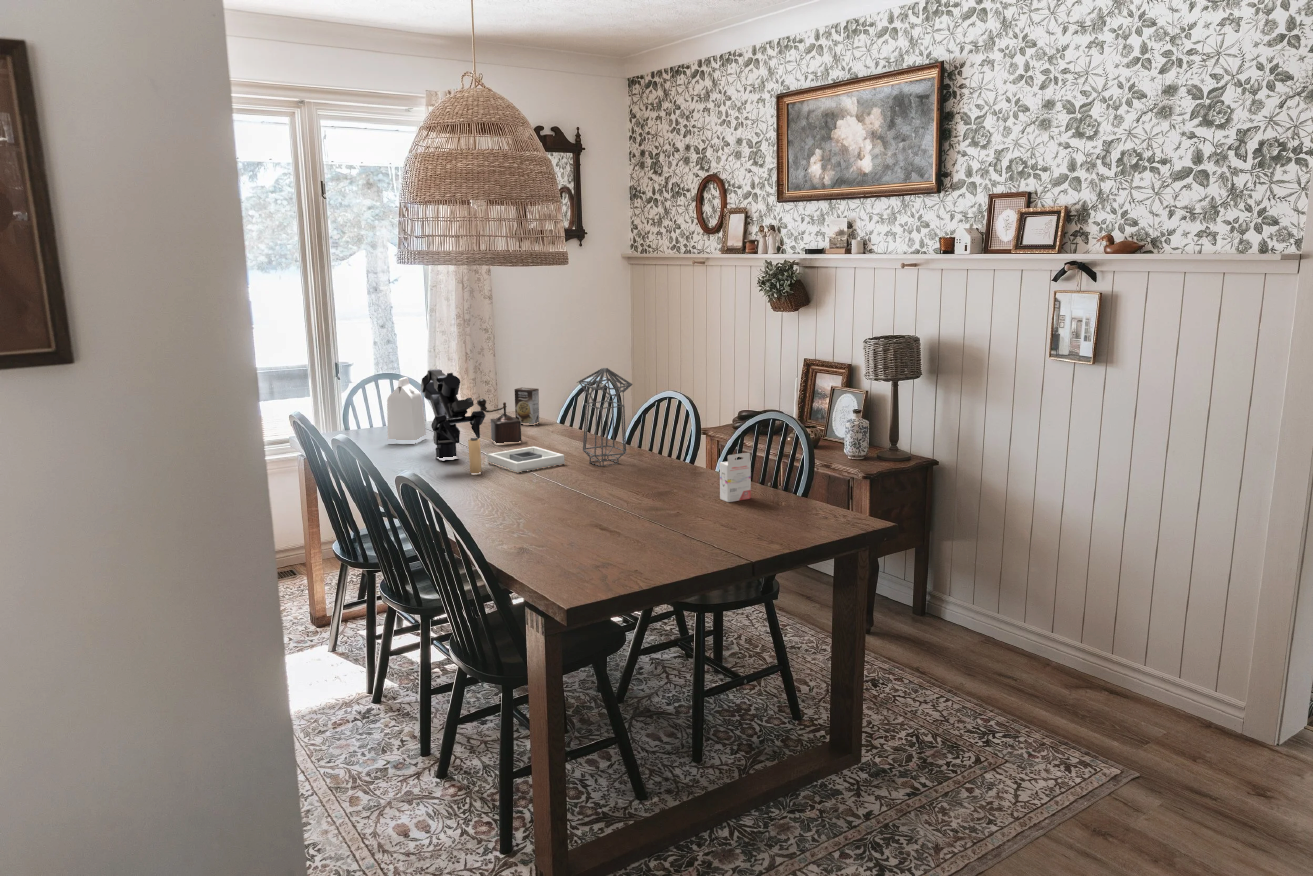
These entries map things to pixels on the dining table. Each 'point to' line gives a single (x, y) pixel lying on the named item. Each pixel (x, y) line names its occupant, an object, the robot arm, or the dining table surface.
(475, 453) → the tan bottle
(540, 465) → the walled box
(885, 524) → the dining table surface
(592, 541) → the dining table surface
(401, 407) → the milk
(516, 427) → the manual coffee grinder
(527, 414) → the coffee box
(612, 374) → the geometric lantern
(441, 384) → the robot arm
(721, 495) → the ink cartridge box
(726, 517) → the dining table surface
